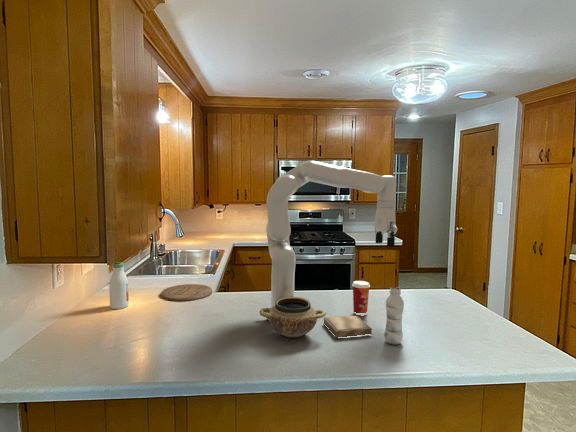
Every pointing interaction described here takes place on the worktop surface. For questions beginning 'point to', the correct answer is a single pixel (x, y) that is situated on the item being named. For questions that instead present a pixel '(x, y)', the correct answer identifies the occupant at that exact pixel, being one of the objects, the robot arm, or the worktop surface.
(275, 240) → the robot arm
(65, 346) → the worktop surface
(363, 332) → the plinth
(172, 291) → the trivet
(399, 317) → the plastic bottle
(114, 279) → the milk bottle
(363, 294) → the paper cup
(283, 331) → the ceramic bowl
